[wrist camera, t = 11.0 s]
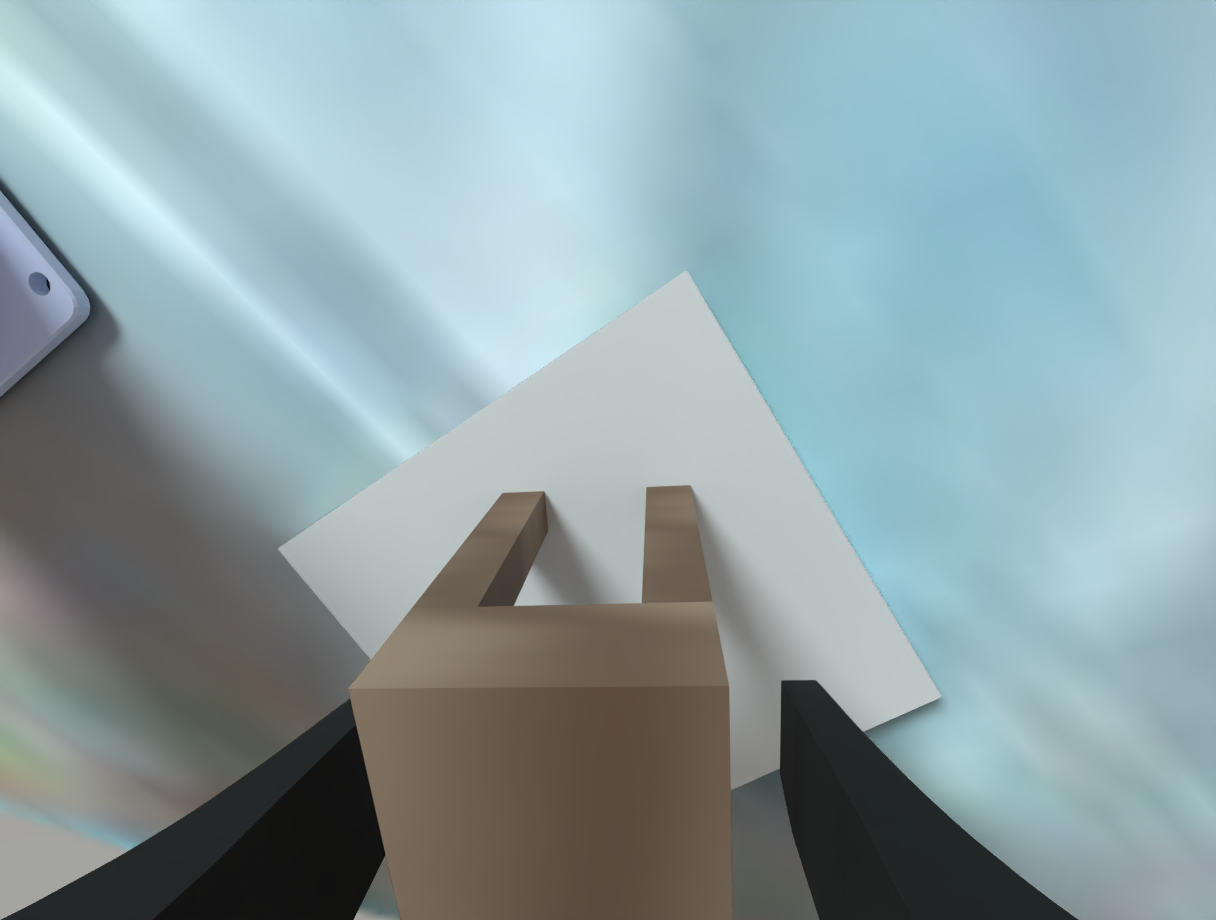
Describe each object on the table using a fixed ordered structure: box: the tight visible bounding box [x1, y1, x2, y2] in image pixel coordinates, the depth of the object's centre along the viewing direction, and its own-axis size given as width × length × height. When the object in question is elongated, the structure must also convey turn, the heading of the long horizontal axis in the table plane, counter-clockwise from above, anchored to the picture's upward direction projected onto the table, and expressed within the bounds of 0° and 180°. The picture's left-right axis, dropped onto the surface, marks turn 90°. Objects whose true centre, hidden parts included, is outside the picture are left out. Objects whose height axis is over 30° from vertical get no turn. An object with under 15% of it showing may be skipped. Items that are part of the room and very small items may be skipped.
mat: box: [277, 270, 942, 790], centre depth 14 cm, size 12×12×1 cm
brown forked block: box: [348, 485, 733, 920], centre depth 11 cm, size 4×7×7 cm, turn 4°
